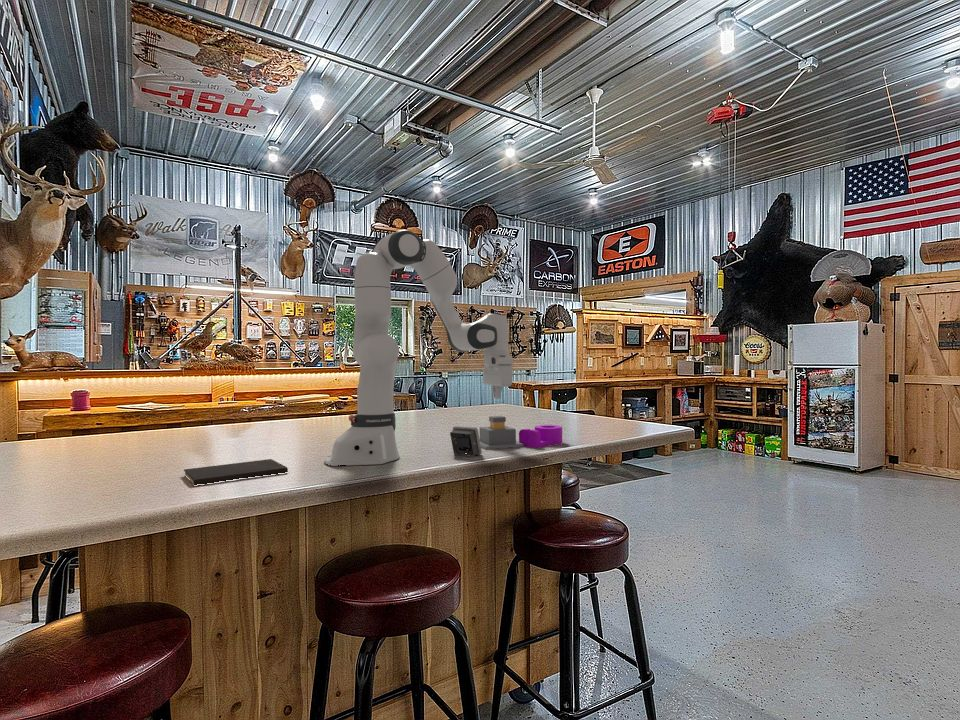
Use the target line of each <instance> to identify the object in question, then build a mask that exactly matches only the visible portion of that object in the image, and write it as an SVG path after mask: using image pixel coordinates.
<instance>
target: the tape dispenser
mask: <svg viewBox="0 0 960 720" xmlns="http://www.w3.org/2000/svg"><path fill="white" fill-rule="evenodd" d="M518 442H520V443H523V444H524V447H526V446H527V447H526V448H533V447H534V449H540V448H545V446H546V447H550V446H549V445H551V446H556V445H555V444H559V445H562V444H563V426H561V425H555V424H541V425H534V429H531V428H523V429H520V430H519V431H518ZM561 443H562V444H561ZM539 447H540V448H539Z"/></svg>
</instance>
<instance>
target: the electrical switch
mask: <svg viewBox="0 0 960 720" xmlns="http://www.w3.org/2000/svg"><path fill="white" fill-rule="evenodd" d="M449 435H450V439H451V440H450V441H451V445H452V451H453V455H455V454H462V455H461V456H464V455H470V456H469V457H473V456H474V457H475V456H481V455H482V453H483V452H482V448H481V444H480V432H479V429H478V428H477V427H472V426H460V425H455V426H453V427H452V430H451V431H450V433H449ZM465 453H467V454H465Z"/></svg>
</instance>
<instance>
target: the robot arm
mask: <svg viewBox="0 0 960 720" xmlns="http://www.w3.org/2000/svg"><path fill="white" fill-rule="evenodd" d="M405 267H410V268H411V269H413V270H414V271H415V273H416V274H417V275H418V277H419V278H420V280H421V282H422V284H423V286H424V287H425V289H426V291H427V292H428V294H429V297H430V300H431V303H432V305H433V307H434V310H435V311H436V313H437V315H438V316H439V319H440V321H441V323H442V324H443V327H444V328H445V329H444V330H445V332H446V336H447V341H448V344H449V346H450V348H452V350H454V351H455V352H458V353H466V352H470V351H471V352H472V351H481V350H483V364H484V366H483V372H482V373H483V376H482V377H483V378H482V381H483V385H487V386H491V391H492V394H493V396H492V397H493V399H497V400H499V399H501V398H502V392H503V387H505V388H506V387H507V388H509V387H512V384H513V376H514V374H513V373H514V371H513V365H514V358H513V357H512V356H511V355H510V350H509V345H508V342H509V339H510V338H509V324H508V319H507V318H506V316H505V315H503V314H500V313H492V312H491V313H490V312H488V313H486V314H485V315H484V316H483V317H481V318H480V319H479V320H476V321H473V322H470V323H466V322H463V320H461V318H460V316H459V314H458V312H457V310H456V307H455V305H454V304H453V301H452V296H453V293H454V292H455V291H456V288H457V286H458V285H457V284H458V277H457V274H456V271H455V270H454V268H453V266H452V264H451V263H450V261H449V260H448V258H447V257H446V255H445V254H444V252H443V251H442V249H441V248H439V246H438V245H437V244H436V243H435V242H434V241H433V240H431V239H422V238H421V237H419V236H418V235H417V234H416V233H414V232H413V231H412V230H407V229H402V230H401V229H400V230H396V231H395V232H392V233H389V234H387V235H385V236H383V237H382V238H381V239H379V240H378V241H377V242H375V244H374V245H373V247H372V250H371V252H365V253H363V254H361V255H359V257H358V258H357V259H356V263H355V269H354V286H353V287H354V314H355V316H354V327H353V338H352V339H353V345H352V347H353V348H352V355H353V359H354V361H356V363H357V364H358V365H359V367H360V368H359V378H358V384H357V387H356V390H357V391H356V392H357V395H356V396H357V397H356V398H357V401H356V402H357V413H356V414H349V416H348V420H349V422H350V427H349V428H348V429H347V430H345V431H344V432H343V433H341V435H339V436H338V437H337V438H336V439H335V440H334V442H333V445H332V449H331V454H329V455H327V456H326V457H325V458H324V464H325V465H327V464H328V465H327V466H330V465H331V466H332V467H340V465H346V466H367V465H368V466H369V465H370V466H371V465H384V464H387V463H388V462H392V461H396V460H399V458H400V453H399V450H398V447H397V446H398V445H397V441H396V434H395V433H396V432H395V431H396V423H397V421H396V413H395V412H394V409H395V408H394V387H395V386H394V385H395V379H396V373H397V364H398V363H397V362H398V358H399V355H400V354H399V353H400V347H399V344H398V342H397V341H396V340H395V339H394V338H393V337H392V336H391V335H390V334H389V330H390V324H391V323H390V321H391V318H392V313H393V312H392V292H391V289H392V286H391V275H392V272H393V271H395V270H398V269H403V268H405ZM338 465H339V466H338Z"/></svg>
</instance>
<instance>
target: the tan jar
mask: <svg viewBox="0 0 960 720" xmlns="http://www.w3.org/2000/svg"><path fill="white" fill-rule="evenodd" d="M506 419H507V417H506V416H503V415H495V416H494V415H493V416H492V415H491V416H488V421H489V423H490V424H489V427H490V429H505V426H506V423H505V422H506V421H507V420H506Z"/></svg>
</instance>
